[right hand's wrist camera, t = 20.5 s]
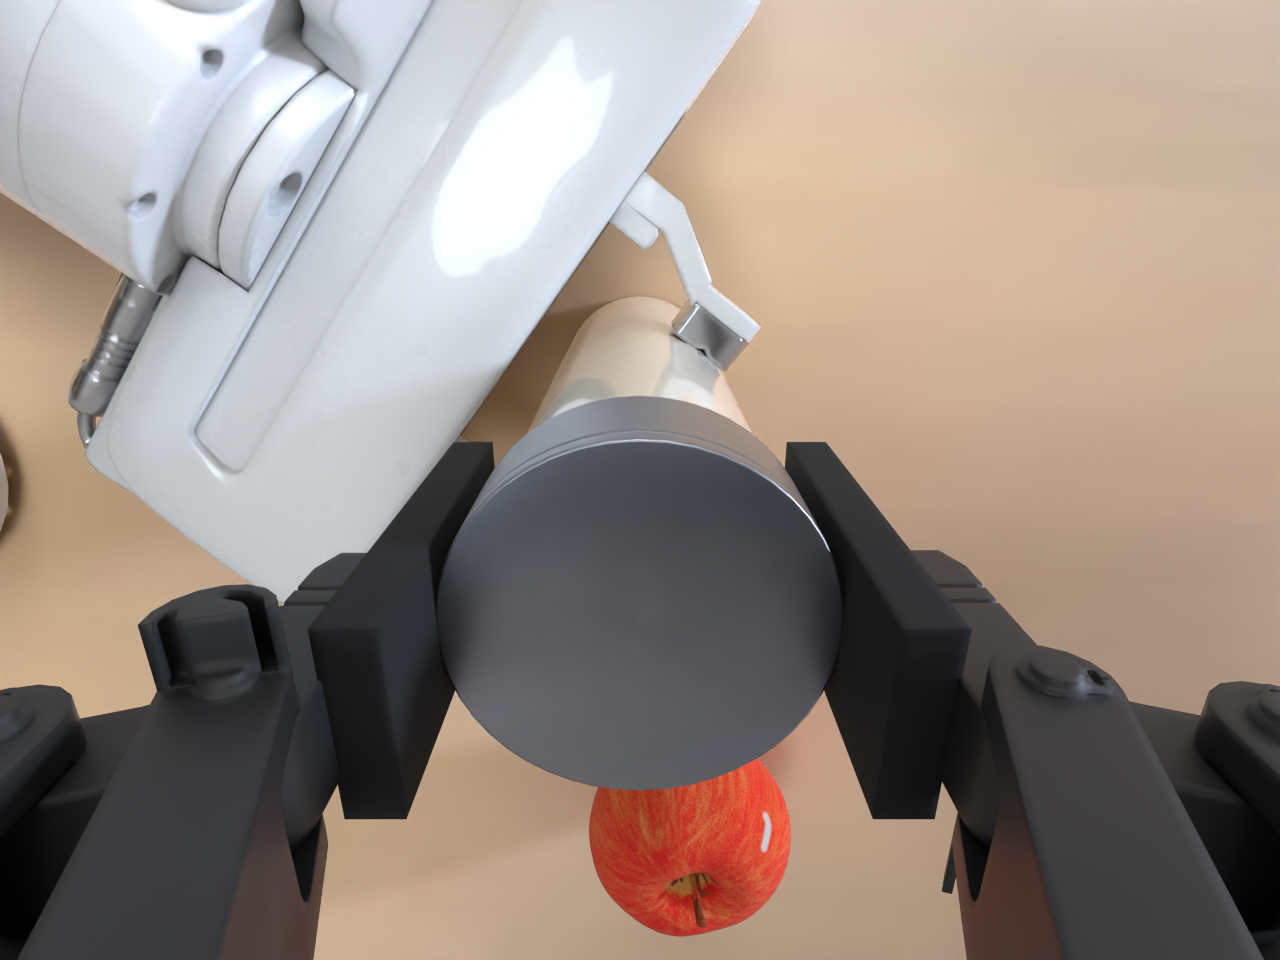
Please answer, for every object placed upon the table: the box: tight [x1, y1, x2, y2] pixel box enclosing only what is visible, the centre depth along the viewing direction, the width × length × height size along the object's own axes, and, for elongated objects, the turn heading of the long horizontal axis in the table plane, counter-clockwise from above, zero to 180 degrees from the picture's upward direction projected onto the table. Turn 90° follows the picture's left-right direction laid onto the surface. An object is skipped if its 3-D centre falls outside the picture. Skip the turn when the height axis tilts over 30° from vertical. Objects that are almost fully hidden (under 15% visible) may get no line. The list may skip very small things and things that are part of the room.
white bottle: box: [527, 296, 752, 433], centre depth 18 cm, size 5×5×16 cm
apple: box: [589, 758, 791, 936], centre depth 29 cm, size 8×8×8 cm
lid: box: [436, 396, 844, 790], centre depth 11 cm, size 6×6×2 cm
